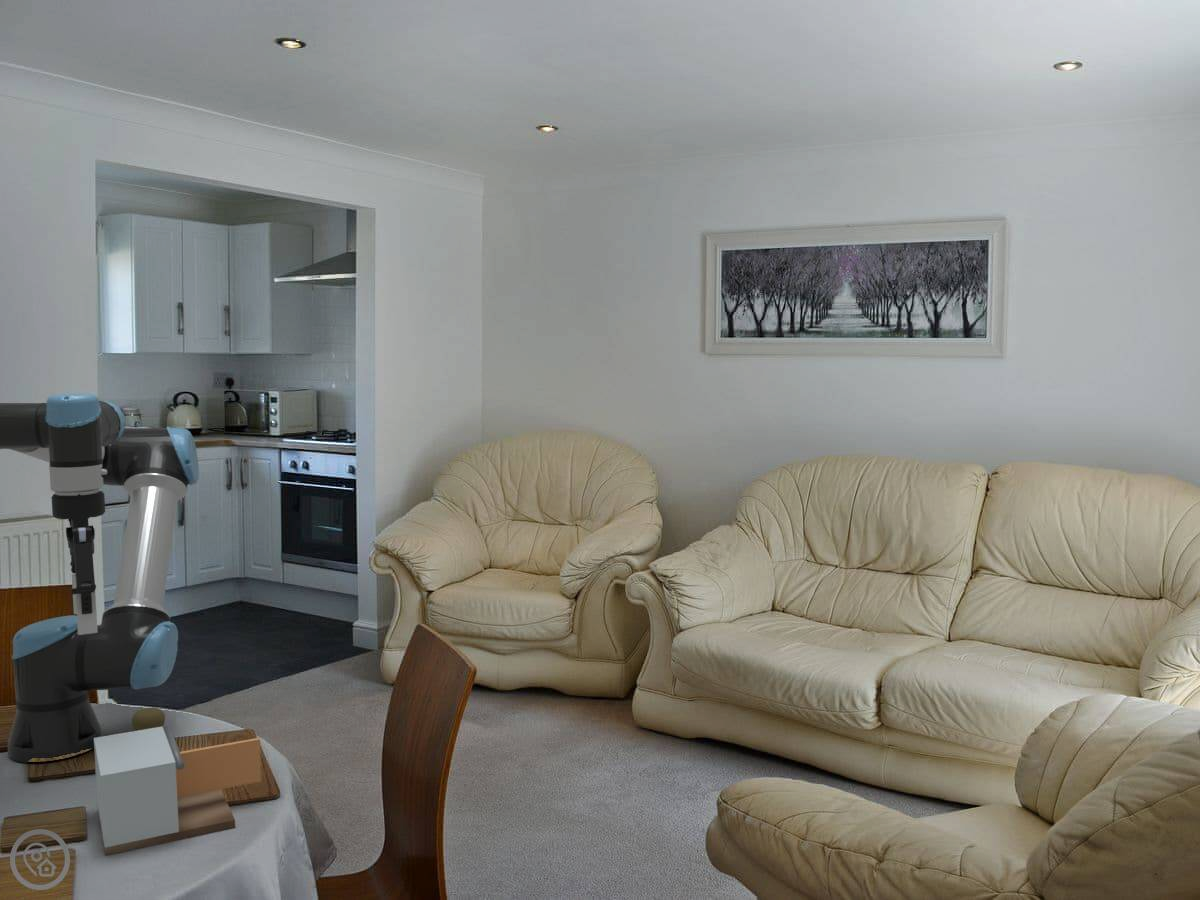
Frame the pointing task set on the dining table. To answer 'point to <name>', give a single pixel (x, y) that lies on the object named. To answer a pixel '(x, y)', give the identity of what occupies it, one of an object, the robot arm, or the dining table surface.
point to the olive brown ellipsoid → (148, 719)
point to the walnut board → (189, 820)
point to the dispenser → (137, 784)
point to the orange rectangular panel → (219, 767)
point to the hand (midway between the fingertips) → (85, 622)
